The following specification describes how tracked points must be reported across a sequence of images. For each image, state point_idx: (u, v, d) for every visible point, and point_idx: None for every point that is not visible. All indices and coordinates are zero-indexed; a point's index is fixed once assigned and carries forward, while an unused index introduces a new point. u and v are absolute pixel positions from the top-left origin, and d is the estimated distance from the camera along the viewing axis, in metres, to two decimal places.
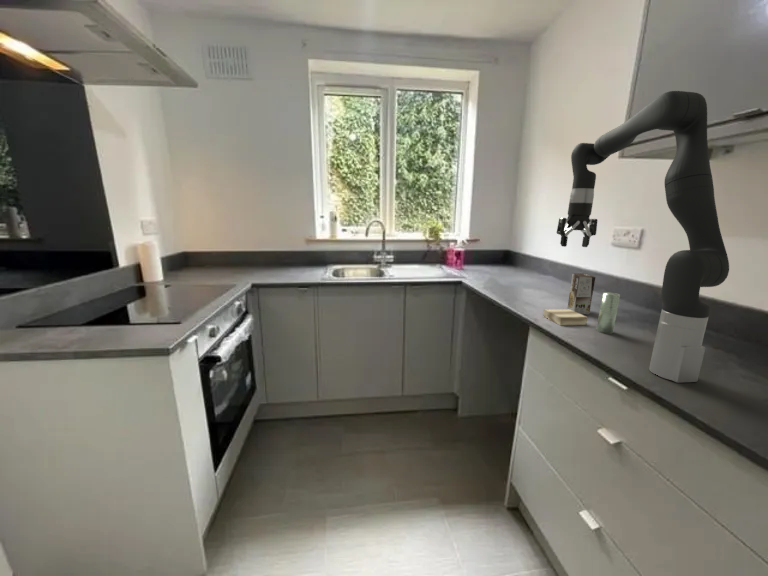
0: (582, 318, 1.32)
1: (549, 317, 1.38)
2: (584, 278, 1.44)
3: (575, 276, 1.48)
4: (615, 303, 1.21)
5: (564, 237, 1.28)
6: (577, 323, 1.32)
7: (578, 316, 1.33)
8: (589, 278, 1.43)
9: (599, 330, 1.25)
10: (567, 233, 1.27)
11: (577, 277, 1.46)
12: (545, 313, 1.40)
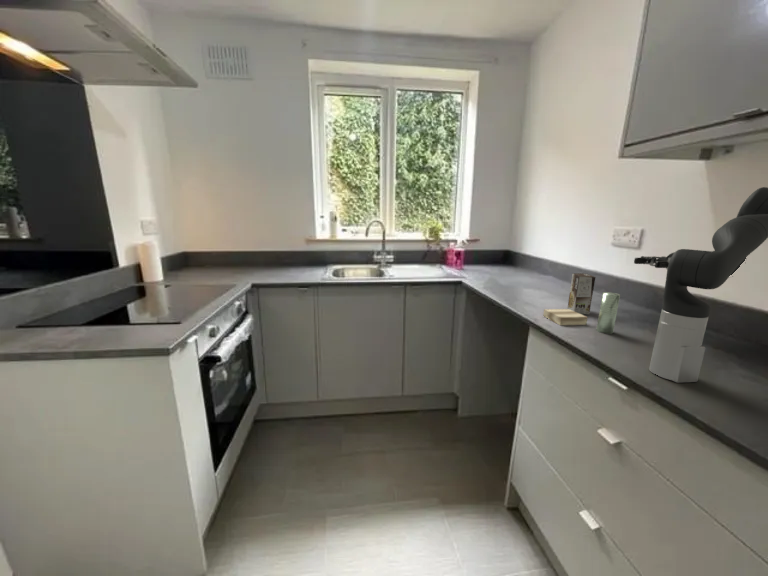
0: (582, 318, 1.32)
1: (549, 317, 1.38)
2: (584, 278, 1.44)
3: (575, 276, 1.48)
4: (615, 303, 1.21)
5: None
6: (577, 323, 1.32)
7: (578, 316, 1.33)
8: (589, 278, 1.43)
9: (599, 330, 1.25)
10: (647, 257, 1.26)
11: (577, 277, 1.46)
12: (545, 313, 1.40)
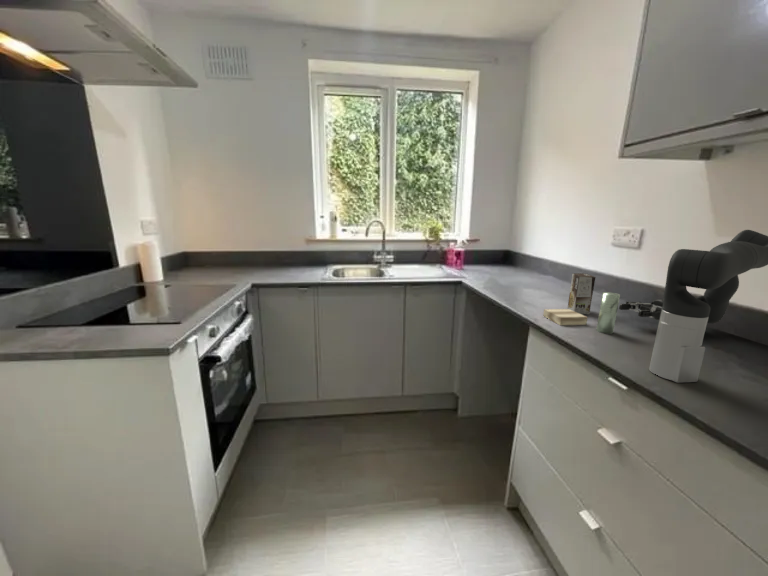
0: (582, 318, 1.32)
1: (549, 317, 1.38)
2: (584, 278, 1.44)
3: (575, 276, 1.48)
4: (615, 303, 1.21)
5: (626, 304, 1.30)
6: (577, 323, 1.32)
7: (578, 316, 1.33)
8: (589, 278, 1.43)
9: (599, 330, 1.25)
10: (632, 303, 1.30)
11: (577, 277, 1.46)
12: (545, 313, 1.40)
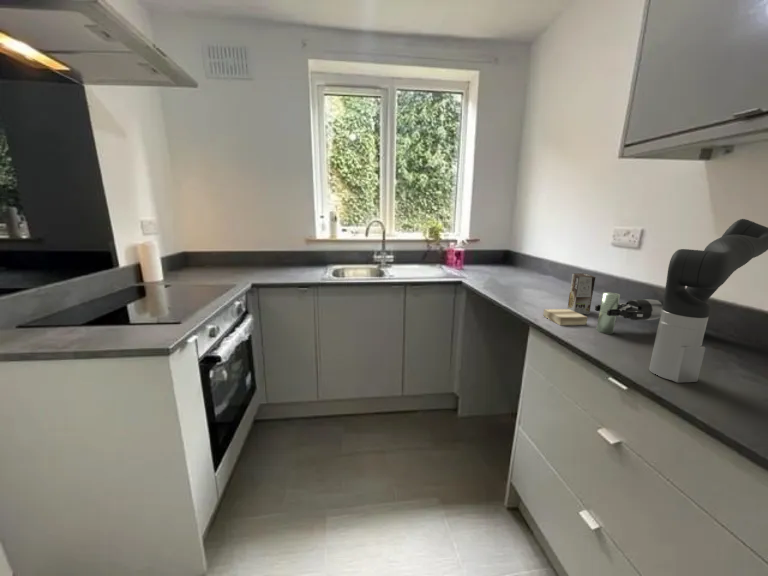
0: (582, 318, 1.32)
1: (549, 317, 1.38)
2: (584, 278, 1.44)
3: (575, 276, 1.48)
4: (615, 303, 1.21)
5: None
6: (577, 323, 1.32)
7: (578, 316, 1.33)
8: (589, 278, 1.43)
9: (599, 330, 1.25)
10: None
11: (577, 277, 1.46)
12: (545, 313, 1.40)
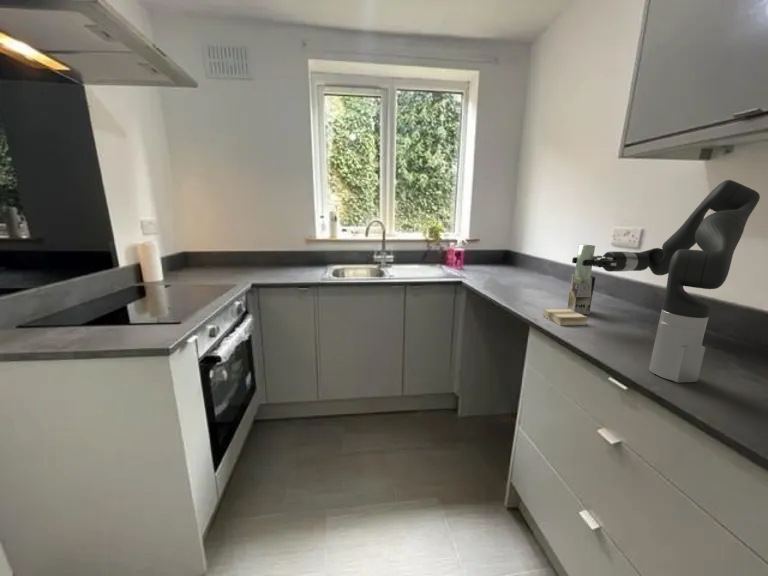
0: (582, 318, 1.32)
1: (549, 317, 1.38)
2: None
3: None
4: (590, 254, 1.26)
5: None
6: (577, 323, 1.32)
7: (578, 316, 1.33)
8: None
9: (576, 281, 1.30)
10: None
11: None
12: (545, 313, 1.40)
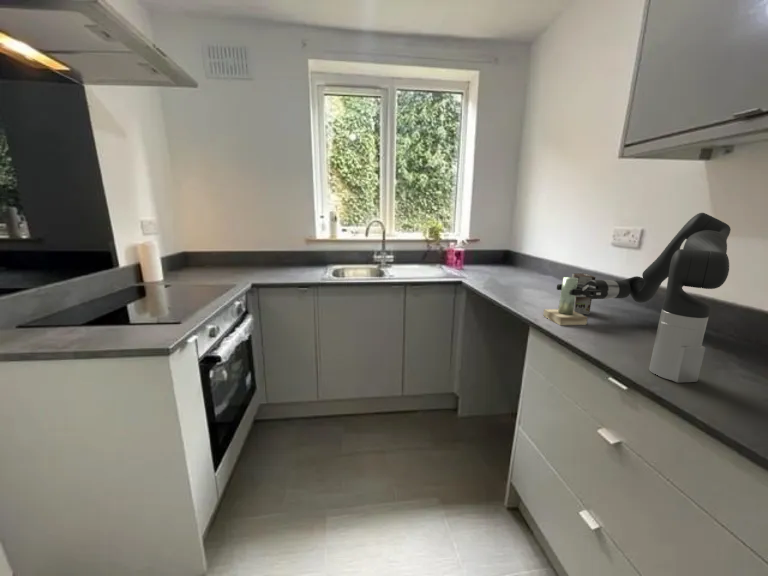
0: (582, 318, 1.32)
1: (549, 317, 1.38)
2: (584, 278, 1.44)
3: (575, 276, 1.48)
4: (573, 286, 1.32)
5: None
6: (577, 323, 1.32)
7: (578, 316, 1.33)
8: (589, 278, 1.43)
9: (560, 311, 1.36)
10: None
11: (577, 277, 1.46)
12: (545, 313, 1.40)
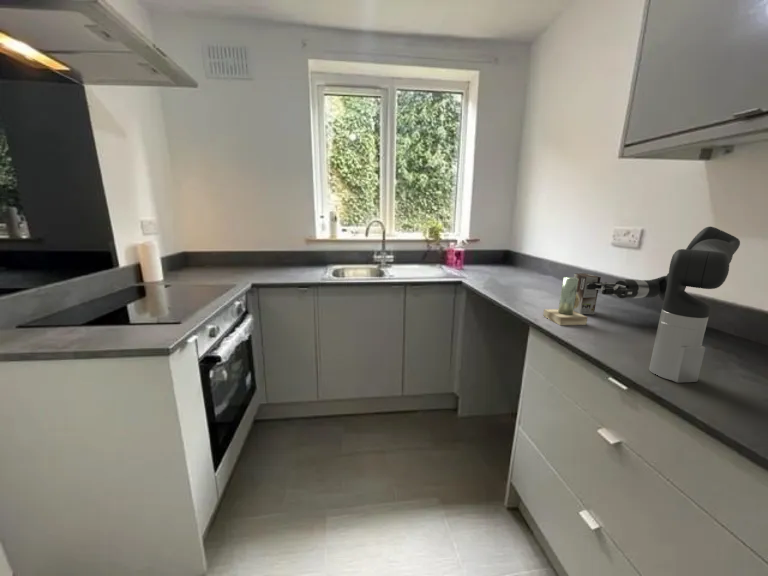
0: (582, 318, 1.32)
1: (549, 317, 1.38)
2: (591, 278, 1.43)
3: (579, 276, 1.47)
4: (574, 286, 1.32)
5: (593, 284, 1.41)
6: (577, 323, 1.32)
7: (578, 316, 1.33)
8: (595, 278, 1.43)
9: (560, 311, 1.36)
10: (598, 283, 1.41)
11: (583, 277, 1.45)
12: (545, 313, 1.40)
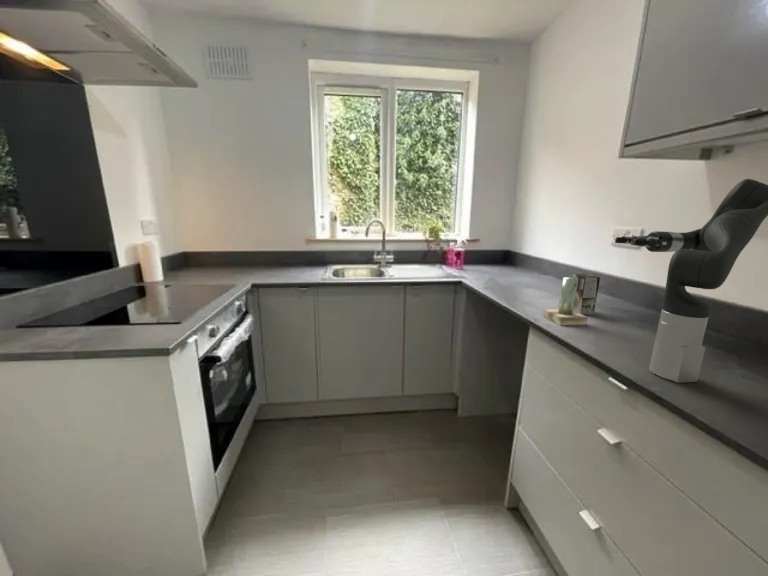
0: (582, 318, 1.32)
1: (549, 317, 1.38)
2: (590, 278, 1.43)
3: (579, 277, 1.47)
4: (573, 286, 1.32)
5: None
6: (577, 323, 1.32)
7: (578, 316, 1.33)
8: (594, 278, 1.43)
9: (560, 312, 1.36)
10: (627, 237, 1.31)
11: (582, 278, 1.45)
12: (545, 313, 1.40)
